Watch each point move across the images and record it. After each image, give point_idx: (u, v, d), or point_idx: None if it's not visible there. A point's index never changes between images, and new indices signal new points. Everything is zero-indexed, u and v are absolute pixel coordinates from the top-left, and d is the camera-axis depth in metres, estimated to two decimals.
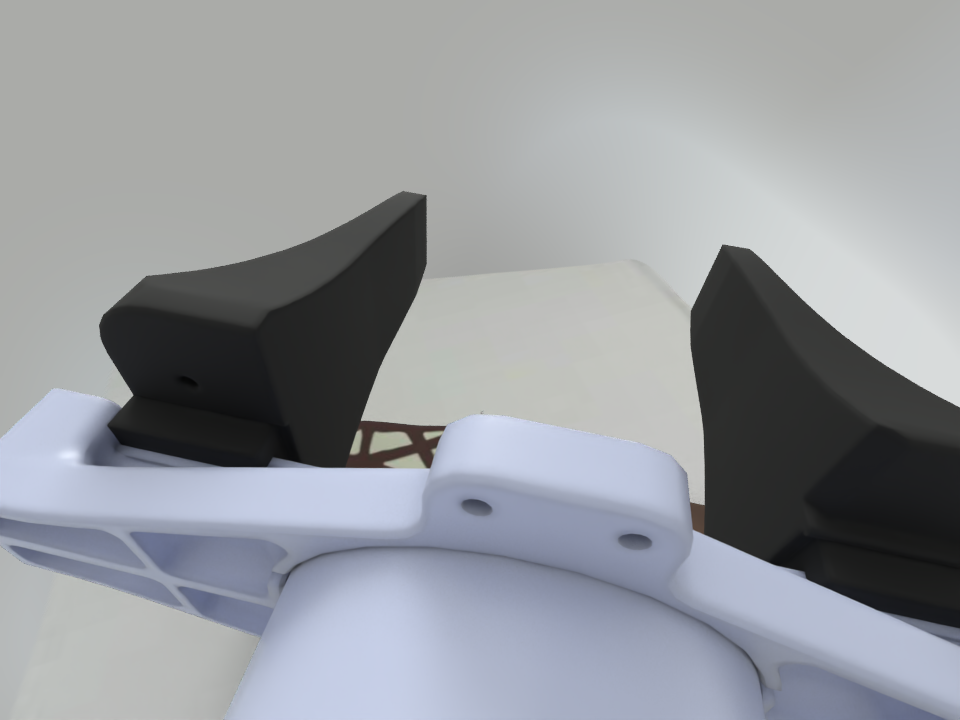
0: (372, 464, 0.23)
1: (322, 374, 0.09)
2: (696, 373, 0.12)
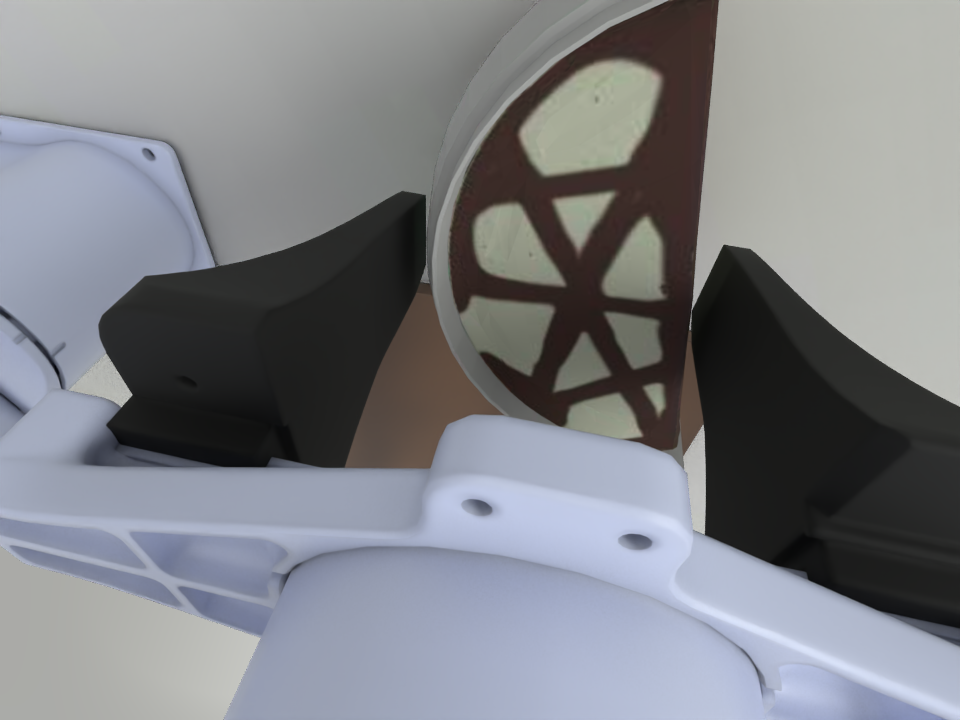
0: (581, 316, 0.12)
1: (321, 374, 0.09)
2: (697, 373, 0.12)
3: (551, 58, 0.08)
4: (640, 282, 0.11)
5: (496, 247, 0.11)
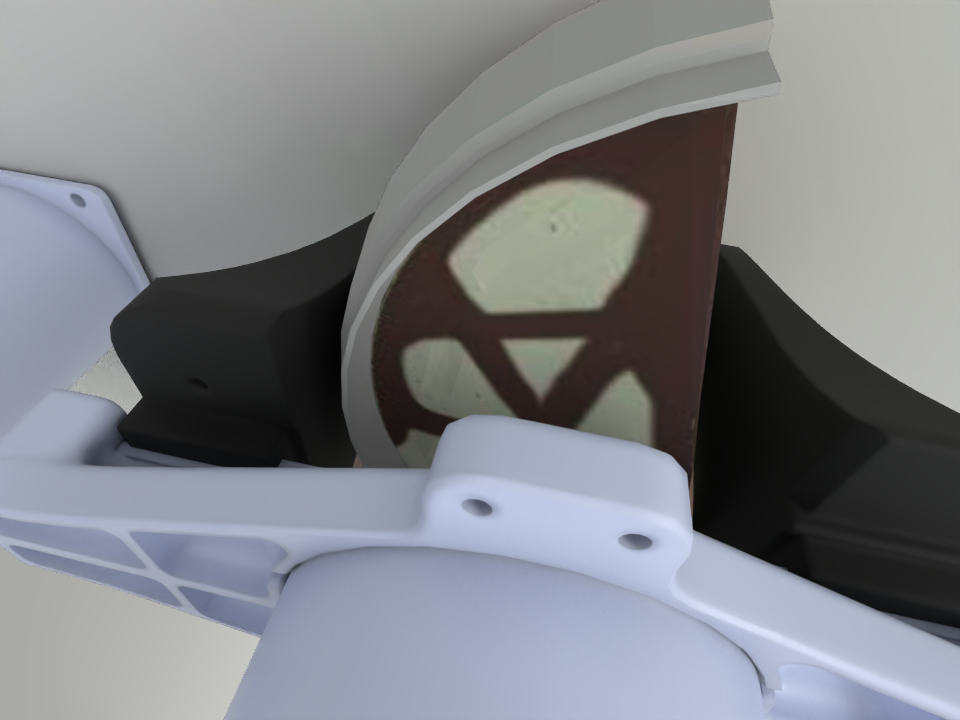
0: None
1: (331, 376, 0.09)
2: None
3: (470, 191, 0.05)
4: None
5: (433, 383, 0.08)
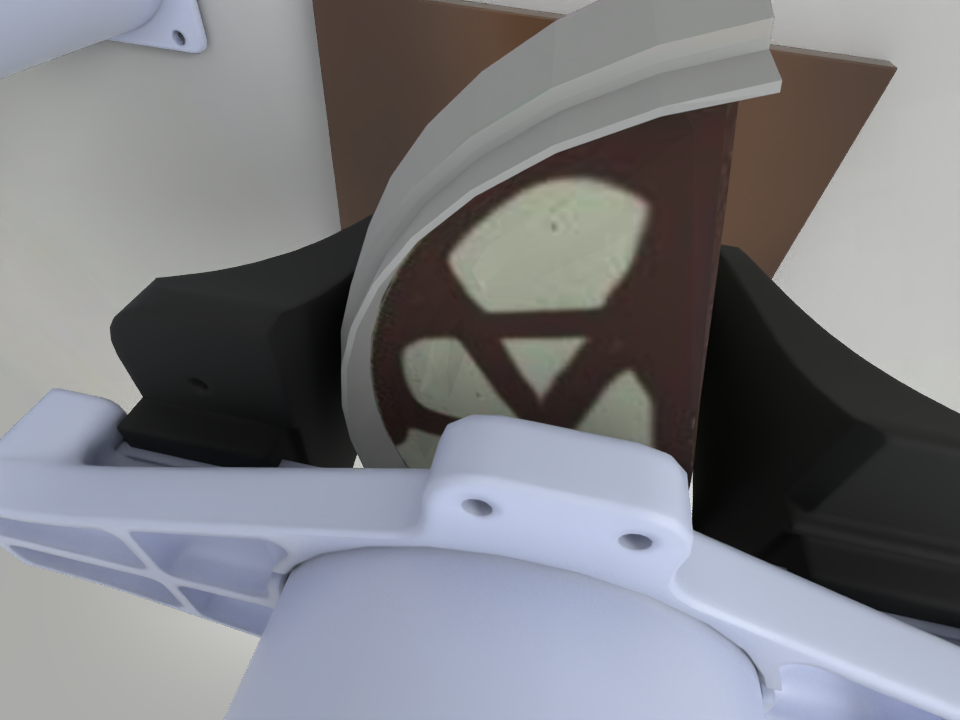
0: None
1: (331, 376, 0.09)
2: None
3: (470, 189, 0.05)
4: None
5: (433, 383, 0.08)
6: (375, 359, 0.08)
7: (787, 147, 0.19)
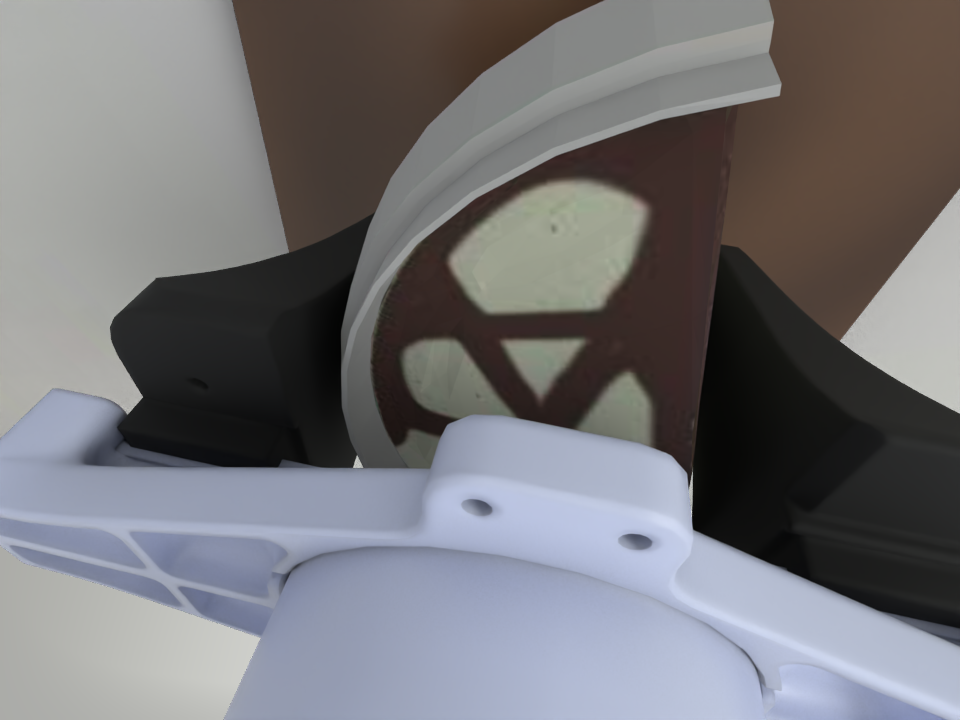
0: None
1: (331, 376, 0.09)
2: None
3: (470, 192, 0.05)
4: None
5: (433, 383, 0.08)
6: (375, 360, 0.08)
7: None
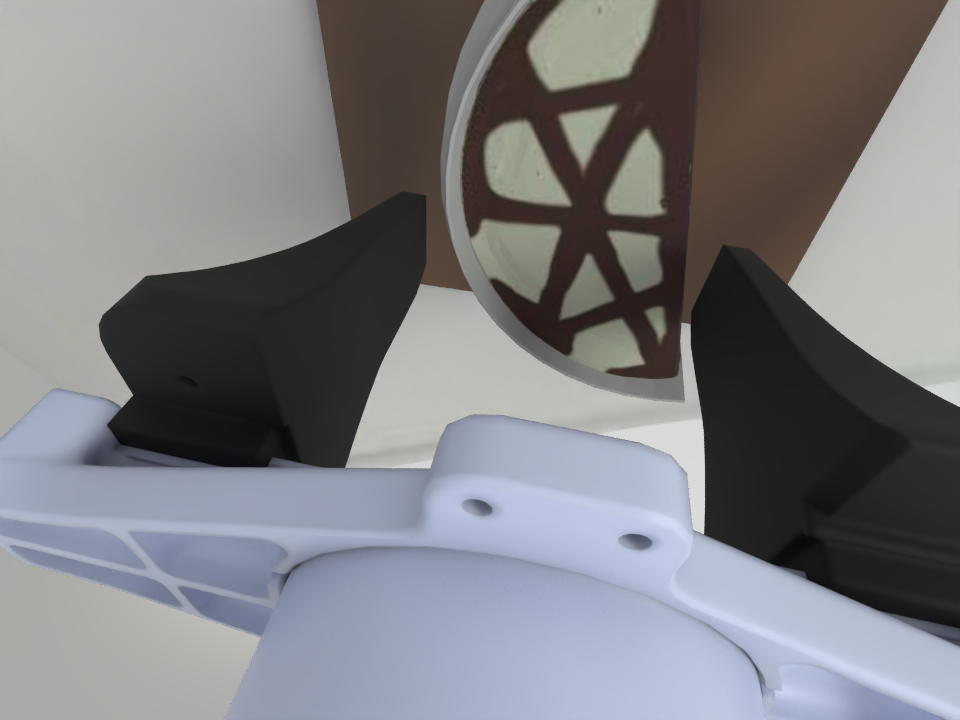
0: (586, 237, 0.13)
1: (322, 374, 0.09)
2: (696, 373, 0.12)
3: None
4: (641, 197, 0.11)
5: (505, 168, 0.12)
6: (466, 146, 0.12)
7: None
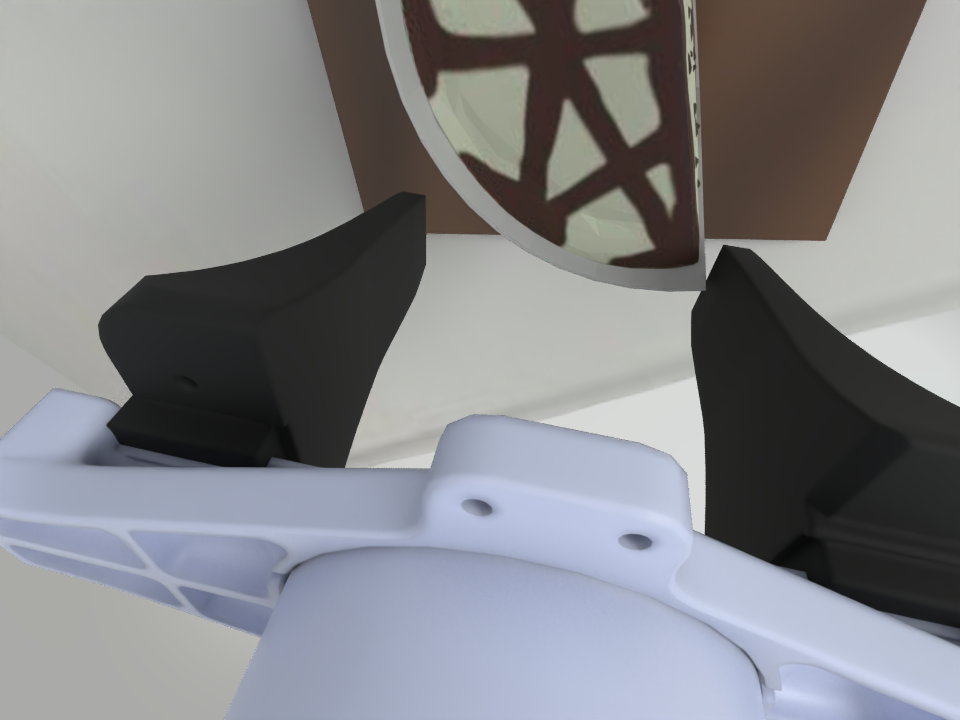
0: (559, 74, 0.10)
1: (321, 374, 0.09)
2: (697, 373, 0.12)
3: None
4: None
5: None
6: None
7: None
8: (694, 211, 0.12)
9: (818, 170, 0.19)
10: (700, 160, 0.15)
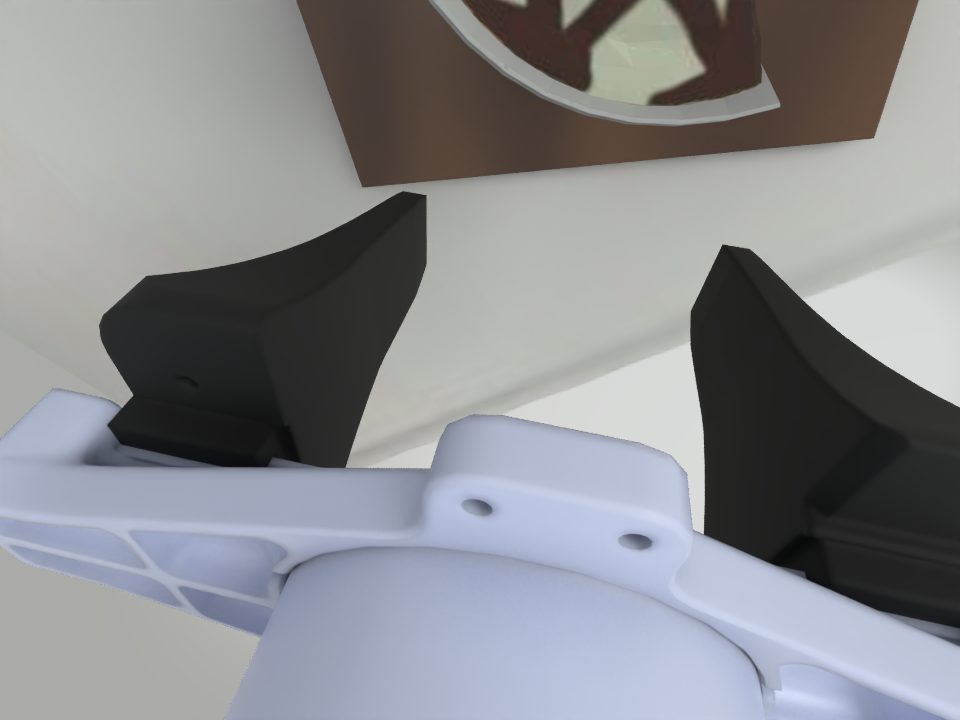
0: None
1: (322, 374, 0.09)
2: (696, 373, 0.12)
3: None
4: None
5: None
6: None
7: None
8: (754, 5, 0.09)
9: (859, 48, 0.17)
10: None
